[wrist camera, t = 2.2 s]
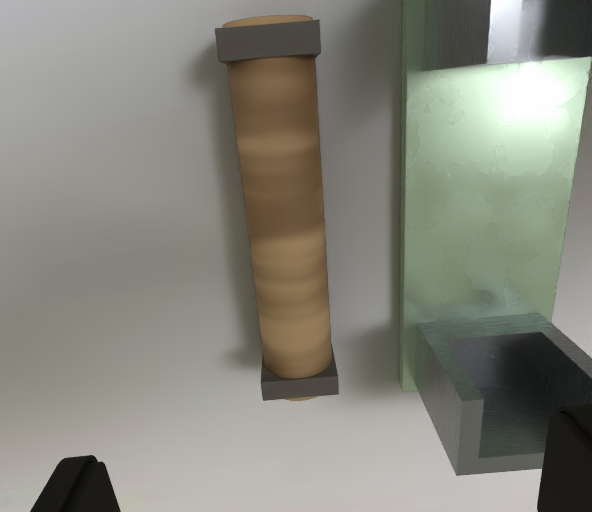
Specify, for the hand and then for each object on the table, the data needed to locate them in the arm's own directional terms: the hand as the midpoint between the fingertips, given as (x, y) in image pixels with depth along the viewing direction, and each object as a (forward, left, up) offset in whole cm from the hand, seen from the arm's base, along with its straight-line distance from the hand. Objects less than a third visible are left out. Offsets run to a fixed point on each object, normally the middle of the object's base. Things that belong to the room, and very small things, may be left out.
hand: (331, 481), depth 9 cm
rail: (-1, -1, -17) cm, 17 cm away
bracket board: (-1, +10, -17) cm, 20 cm away
